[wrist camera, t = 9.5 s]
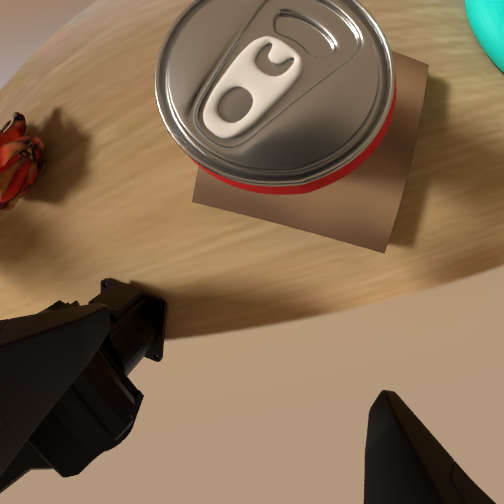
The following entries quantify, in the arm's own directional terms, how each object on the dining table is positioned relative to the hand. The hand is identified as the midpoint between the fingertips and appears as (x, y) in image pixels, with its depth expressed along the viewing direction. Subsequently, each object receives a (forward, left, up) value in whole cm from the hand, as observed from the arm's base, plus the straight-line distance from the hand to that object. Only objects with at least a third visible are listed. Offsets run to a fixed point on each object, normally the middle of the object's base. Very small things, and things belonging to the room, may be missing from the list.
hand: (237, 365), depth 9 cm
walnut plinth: (+8, 0, -13) cm, 15 cm away
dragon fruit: (+2, +26, -13) cm, 29 cm away
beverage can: (+8, +1, -11) cm, 13 cm away
